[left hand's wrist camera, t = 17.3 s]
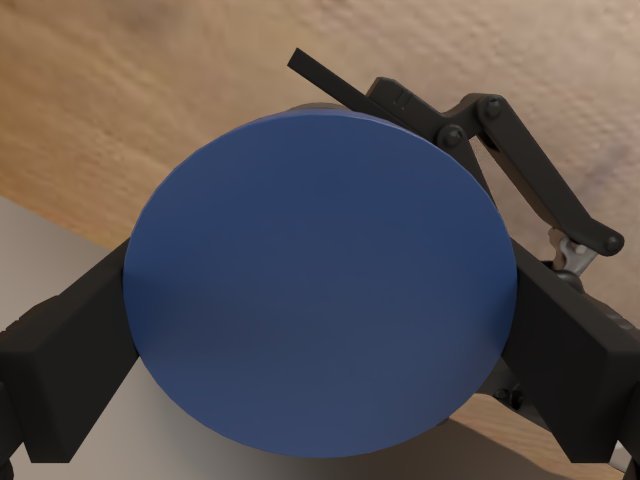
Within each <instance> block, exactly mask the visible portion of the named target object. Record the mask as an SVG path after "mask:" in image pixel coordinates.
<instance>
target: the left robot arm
mask: <svg viewBox="0 0 640 480" xmlns="http://www.w3.org/2000/svg"><path fill="white" fill-rule="evenodd" d="M509 237H510V236H509ZM510 239H511V243H512V248H513V252H514V256H515V261H516V270H517V284H518V290H517V300H516V305H515V311H514V315H513V320H512V325H511V329H510V333H509V337H508V340H507V342H506V345H505V347H504V350H503V352H502V354H501V357H502V358H503V360H504V361H505V363H506V364H507V366H508V367H509V369H510V370H511V372H512V373H513V375H514V376H515V378H516V380H517V381H518V383H519V384H520V386H521V387H522V389H523V390H524V392H525V393H526V395H527V396H528V398H529V399H530V401H531V402H532V404H533V405H534V407H535V408H536V410H537V411H538V413H539V414H540V416H541V417H542V419H543V420H544V422H545V423H546V425H547V427H548V428H549V430H550V431H551V433H552V434H553V436H554V437H555V439H556V440H557V442H558V443H559V445H560V446H561V448H562V449H563V451H564V452H565V454H566V455H567V457H568V458H569V460H570V461H571V463H609V462H610V460H611V457H612V454H613V452H614V449H615V446H616V444H617V441H619V442H620V443H621V444H622V446H623V447H624V448H625V449H626V450H627V452H628V453H629V454H630V455H631V456H632V457H631V460H630V462H629V465H628V467H627V469H626V472H625V474H624V477H623V479H622V480H640V330H639V329H635V326H634V325H632V324H631V323H630V322H628V321H627V320H626V319H622V316H621V315H619V314H618V313H617V312H616V311H614V310H613V309H612V308H610V307H609V306H608V305H607V304H605V303H602V302H600V301H598V300H596V299H594V298H592V297H590V296H588V295H586V294H580V293H578V292H577V291H576V290H575V289H574V288H572V287H571V286H570V285H569V284H567V283H566V282H565V281H564V280H563V279H561V278H560V277H559V276H558V275H556V274H555V273H554V272H553V271H551V270H550V269H549V268H548V267H547V266H545V265H544V264H543V263H542V262H540V261H539V260H538V259H537V258H535V257H534V256H533V255H532V254H531V253H529V252H528V251H527V250H526V249H524V248H523V247H522V246H521V245H520V244H518V243H517V242H516V241H515V240H513V239H512V238H511V237H510ZM129 241H130V238H128V239H127V240H126V241H125V242H123V243H122V244H121V245H120V246H119V247H117V248H116V249H115V250H114V251H112V252H111V253H110V254H109V255H107V256H106V257H105V258H104V259H103V260H101V261H100V262H99V263H98V264H96V265H95V266H94V267H93V268H91V269H90V270H89V271H88V272H87V273H85V274H84V275H83V276H82V277H80V278H79V279H78V280H77V281H76V282H74V283H73V284H72V285H71V286H69V287H68V288H67V289H66V290H64V291H63V292H62V293H61V294H60V295H58V296H54V297H52V298H50V299H47V300H45V301H43V302H41V303H39V304H37V305H35V306H34V307H32V308H31V309H30V310H29V311H27V312H26V313H25V314H23V315H22V316H21V317H20V318H19V320H16V321H14V322H13V323H12V324H11V325H9V326H8V327H7V328H6V331H2V332H0V480H13V478H14V473H13V467H12V465H11V462H10V460H9V458H10V457H11V456H12V454H13V453H14V452H15V451H16V450H17V448H18V447H19V446H20V445H21V444H22V442H24V445H25V447H26V450H27V453H28V455H29V458H30V461H31V463H69V462H70V460H71V459H72V458H73V456H74V455H75V453H76V451H77V450H78V448H79V447H80V445H81V444H82V442H83V441H84V439H85V438H86V436H87V435H88V433H89V432H90V430H91V429H92V427H93V426H94V424H95V423H96V421H97V420H98V418H99V417H100V415H101V414H102V412H103V411H104V409H105V408H106V406H107V404H108V403H109V401H110V400H111V398H112V397H113V395H114V394H115V392H116V391H117V389H118V388H119V386H120V385H121V383H122V382H123V380H124V379H125V377H126V376H127V374H128V373H129V371H130V370H131V368H132V367H133V365H134V364H135V362H136V360H137V359H138V357H139V356H140V355H139V353H138V351H137V349H136V347H135V345H134V342H133V339H132V335H131V331H130V326H129V322H128V317H127V312H126V307H125V303H124V297H123V281H122V280H123V271H124V262H125V255H126V252H127V248H128V244H129Z"/></svg>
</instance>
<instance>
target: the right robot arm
mask: <svg viewBox="0 0 640 480" xmlns="http://www.w3.org/2000/svg"><path fill="white" fill-rule="evenodd" d="M287 66H288V67H290V68H291V69H293V70H294V71H295V72H297V73H298V74H300V75H301V76H303V77H304V78H306V79H307V80H308V81H310V82H311V83H313V84H314V85H316V86H317V87H319V88H320V89H321V90H323V91H324V92H326V93H327V94H329V95H330V96H332V97H333V98H334V99H336V100H337V101H339V102H340V103H342V104H343V105H345V106H346V107H347V108H349V109H350V110H352V111H353V112H359V113H364V114H367V115H371V116H374V117H377V118H381V119H384V120H387V121H389V122H391V123H394V124H396V125H398V126H400V127H402V128H404V129H406V130H409V131H411V132H412V133H414V134H416V135H418V136H420V137H422V138H424V139H425V140H427V141H429V142H430V143H432V144H433V145H435V146H436V147H438V148H439V149H441V150H442V151H444V152H445V153H447V154H448V155H450V156H451V157H452V158H453V159H455V160H456V161H457V162H458V163H459V164H460V165H461V166H462V167H464V168H465V169H466V170H467V171H468V172H469V173H470V174H471V175H472V176H473V177H474V178H475V179H476V181H477V182H478V183H479V184H480V186H481V187H482V188H483V189H484V190H485V192H486V193H487V194H488V195H489V197H490V199H491V200H492V202H493V204H494V205H495V202H494V200H493V198H492V195H491V193H490V190H489V188H488V186H487V183H486V181H485V179H484V176H483V174H482V171H481V169H480V167H479V164H478V162H477V159H476V157H475V155H474V152H473V150H472V147H471V145H470V143H469V139H471V138H472V137H473V136H475V135H476V136H477V137H478V139H479V140H480V141H481V143H482V144H483V145H484V147H485V148H486V149H487V150H488V152H489V153H490V154H491V156H492V157H493V158H494V159H495V161H496V162H497V163H498V165H499V166H500V167H501V168H502V170H503V171H504V172H505V174H506V175H507V176H508V177H509V179H510V180H511V181H512V183H513V184H514V185H515V186H516V188H517V189H518V190H519V192H520V193H521V194H522V196H523V197H524V198H525V199H526V201H527V202H528V203H529V205H530V206H531V207H532V208H533V210H534V211H535V212H536V213H537V214H538V216H539V217H540V218H541V219H543V220H544V221H545V222H546V223H548V224H549V225H551V226H552V228H551V229H550V230H549V231H548V235H549V236H550V243H551V245H552V246H553V247H554V248H555V250H556V257H555V259H554V261H540V262H542V263H543V264H544V265H545V266H547V267H548V268H549V269H550V270H551V271H553V272H554V273H555V274H556V275H558V276H559V277H560V278H561V279H563V280H564V281H565V282H566V283H567V284H569V285H570V286H571V287H572V288H574V289H575V290H576V291H577V292H578V293H580V294H586V295H588V294H587V293H586V292H585V291H584V289H583V285H582V282H581V280H580V279H579V276H580V275H581V274H582V272H583V271H584V270H585V269H586V268H587V266H588V265H589V264H590V263H591V262H592V260H593V259H594V258H595V257H596V256H597V254H600V255H602V256H606V257H607V256H613V255H615V254H617V253H618V252H619V251H620V250H621V249H622V248H623V246H624V238H623V236H622V235H621V234H620V233H618V232H616V231H614V230H612V229H611V228H609V227H607V226H605V225H603V224H601V223H600V222H598V221H596V220H594V219H592V218H591V217H590V215H589V214H588V213H587V211H586V210H585V209H584V207H583V206H582V204H581V203H580V202H579V200H578V199H577V197H576V196H575V195H574V193H573V192H572V191H571V189H570V188H569V186H568V185H567V184H566V182H565V181H564V180H563V178H562V177H561V175H560V174H559V173H558V171H557V170H556V168H555V167H554V166H553V164H552V163H551V162H550V160H549V159H548V157H547V156H546V155H545V153H544V152H543V151H542V149H541V148H540V146H539V145H538V144H537V142H536V141H535V140H534V138H533V137H532V135H531V134H530V133H529V131H528V130H527V128H526V127H525V126H524V124H523V123H522V122H521V120H520V119H519V117H518V116H517V115H516V113H515V112H514V111H513V109H512V108H511V106H510V105H509V104H508V102H507V101H506V99H504V98H503V97H502V96H500V95H496V94H481V93H471V94H468V95H466V96H465V97H463V99H462V100H461V101H460V103H459V104H458V105H456V106H455V107H454V108H452V109H451V110H449V111H447V112H444V113H439V112H438V111H437V110H435V109H434V108H432V107H431V106H430V105H428V104H427V103H426V102H424V101H423V100H422V99H420V98H419V97H417V96H416V95H415V94H413V93H412V92H411V91H409V90H408V89H406V88H405V87H404V86H402V85H401V84H400V83H398V82H397V81H396V80H393V79H389V78H384V77H377V78H376V80H375V81H374V83H373V84H372V86H371V87H370V89H369V90H368V92H367V93H366V95H364V94H362V93H361V92H359V91H358V90H357V89H355V88H354V87H352V86H351V85H350V84H348V83H347V82H345V81H344V80H342V79H341V78H340V77H338V76H337V75H335V74H334V73H333V72H331V71H330V70H328V69H327V68H326V67H324V66H323V65H321V64H320V63H318V62H317V61H316V60H314V59H313V58H311V57H310V56H309V55H307V54H306V53H304V52H303V51H302V50H300V49H299V48H296V50H295V52H294V54H293V55H292V57H291V59H290V61H289V63H288V64H287ZM495 207H496V205H495ZM496 209H497V207H496ZM588 296H590V295H588ZM590 297H591V296H590ZM592 298H593V297H592ZM622 319H624V318H622ZM635 329H637V328H636V327H635ZM475 393H481V394H487V395H490V396H492V397H494V398H495V399H496V400H498V401H499V402H501V403H502V404H503V405H505V406H506V407H508V408H509V409H511V410H512V411H514V412H516V413H517V414H519V415H521V416H523V417H525V418H526V419H528V420H530V421H532V422H533V423H535V424H537V425H539V426H541V427H542V428H544V429H546V430H548V431H549V432H551V431H550V430H549V428H548V427H547V425H546V423H545V422H544V420H543V419H542V417H541V416H540V414H539V413H538V411H537V410H536V408H535V407H534V405H533V404H532V402H531V401H530V399H529V398H528V396H527V395H526V393H525V392H524V390H523V389H522V387H521V386H520V384H519V383H518V381H517V380H516V378H515V376H514V375H513V373H512V372H511V370H510V369H509V367H508V366H507V364H506V363H505V361H504V360H503V358H502V357H501V356H500V357H499V359H498V361H497V363H496V365H495V366H494V368H493V370H492V371H491V373H490V374H489V376H488V377H487V378H486V380H485V381H484V382H483V384H482V385H481V386H480V388H479V389H478V390H477V391H476V392H475ZM448 419H449V417H447V418H446V419H444V420H443V421H441V422H440V423H438V424H437V425H436V426H439V425H443V424H444V423H446V422H447V421H448ZM631 457H632V456H631V455H630V454H629V453H628V452H627V450H626V449H625V448H624V447H623V446H622V444H621V443H620V442H619V441H617V444H616V446H615V449H614V452H613V454H612V457H611V460H610V462H609V463H607V464H609V465H610V466H612V467H614V468H615V469H617V470H619V471H621V472H623V473H625V472H626V469H627V467H628V465H629V462H630V460H631Z"/></svg>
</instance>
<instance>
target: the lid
mask: <svg viewBox="0 0 640 480" xmlns="http://www.w3.org/2000/svg"><path fill="white" fill-rule="evenodd" d="M122 281H123V297H124V303H125V307H126V312H127V317H128V322H129V326H130V331H131V335H132V339H133V342H134V345H135V347H136V349H137V351H138V353H139V355H140V357H141V359H142V361H143V363H144V365H145V366H146V368H147V369H148V371H149V372H150V374H151V375H152V377H153V378H154V379H155V381H156V382H157V384H158V385H159V386H160V387H161V388H162V389H163V390H164V392H165V393H166V394H167V395H168V396H169V397H170V398H171V399H172V400H173V401H174V402H175V403H176V404H177V405H178V406H180V407H181V408H182V409H183V410H184V411H185V412H186V413H188V414H189V415H190V416H192V417H193V418H195V419H196V420H197V421H199V422H200V423H202V424H203V425H204V426H206V427H208V428H210V429H212V430H213V431H215V432H217V433H219V434H221V435H222V436H224V437H227V438H229V439H232V440H234V441H236V442H239V443H241V444H243V445H247V446H250V447H253V448H256V449H259V450H262V451H267V452H271V453H276V454H281V455H287V456H296V457H305V458H333V457H345V456H353V455H358V454H364V453H370V452H373V451H377V450H381V449H384V448H388V447H391V446H394V445H396V444H399V443H401V442H404V441H407V440H409V439H411V438H413V437H415V436H417V435H419V434H421V433H423V432H425V431H427V430H429V429H431V428H432V427H434V426H435V425H437V424H438V423H440V422H441V421H443V420H444V419H446V418H447V417H449V416H450V415H451V414H452V413H454V412H455V411H456V410H457V409H458V408H460V407H461V406H462V405H463V404H464V403H465V402H466V401H467V400H468V399H469V398H470V397H471V396H472V395H473V394H474V393H475V392H476V391H477V390H478V389H479V388H480V386H481V385H482V384H483V382H484V381H485V380H486V378H487V377H488V376H489V374H490V373H491V371H492V370H493V368H494V366H495V365H496V363H497V361H498V359H499V357H500V356H501V354H502V352H503V350H504V347H505V345H506V342H507V340H508V337H509V333H510V329H511V325H512V320H513V315H514V311H515V305H516V300H517V290H518V284H517V270H516V261H515V256H514V252H513V248H512V243H511V239H510V237H509V234H508V232H507V229H506V227H505V225H504V222H503V220H502V217H501V215H500V214H499V212H498V210H497V209H496V207H495V205H494V204H493V202H492V200H491V199H490V197H489V195H488V194H487V193H486V192H485V190H484V189H483V188H482V187H481V186H480V184H479V183H478V182H477V181H476V179H475V178H474V177H473V176H472V175H471V174H470V173H469V172H468V171H467V170H466V169H465V168H464V167H462V166H461V165H460V164H459V163H458V162H457V161H456V160H455V159H453V158H452V157H451V156H450V155H448V154H447V153H445V152H444V151H442V150H441V149H439V148H438V147H436V146H435V145H433V144H432V143H430V142H429V141H427V140H425V139H424V138H422V137H420V136H418V135H416V134H414V133H412V132H411V131H409V130H406V129H404V128H402V127H400V126H398V125H396V124H394V123H391V122H389V121H387V120H384V119H381V118H377V117H374V116H371V115H367V114H364V113H359V112H353V111H347V110H340V109H315V108H310V109H301V110H293V111H285V112H281V113H277V114H273V115H269V116H266V117H262V118H259V119H256V120H254V121H251V122H249V123H247V124H244V125H242V126H240V127H237V128H235V129H233V130H231V131H230V132H228V133H226V134H224V135H222V136H220V137H219V138H217V139H215V140H214V141H212V142H210V143H209V144H207V145H205V146H204V147H202V148H200V149H199V150H197V151H195V152H194V153H193V154H192V155H191V156H189V157H188V158H187V159H186V160H184V161H183V162H182V163H181V164H180V165H178V166H177V167H176V168H175V169H174V170H173V171H172V172H171V173H170V174H169V175H168V176H167V177H166V179H165V180H164V181H163V182H162V183H161V184H160V185H159V186H158V187H157V188H156V190H155V191H154V193H153V194H152V196H151V197H150V199H149V201H148V202H147V204H146V205H145V207H144V208H143V210H142V211H141V214H140V216H139V218H138V220H137V222H136V225H135V227H134V229H133V231H132V234H131V237H130V241H129V244H128V248H127V252H126V255H125V262H124V271H123V280H122Z"/></svg>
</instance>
